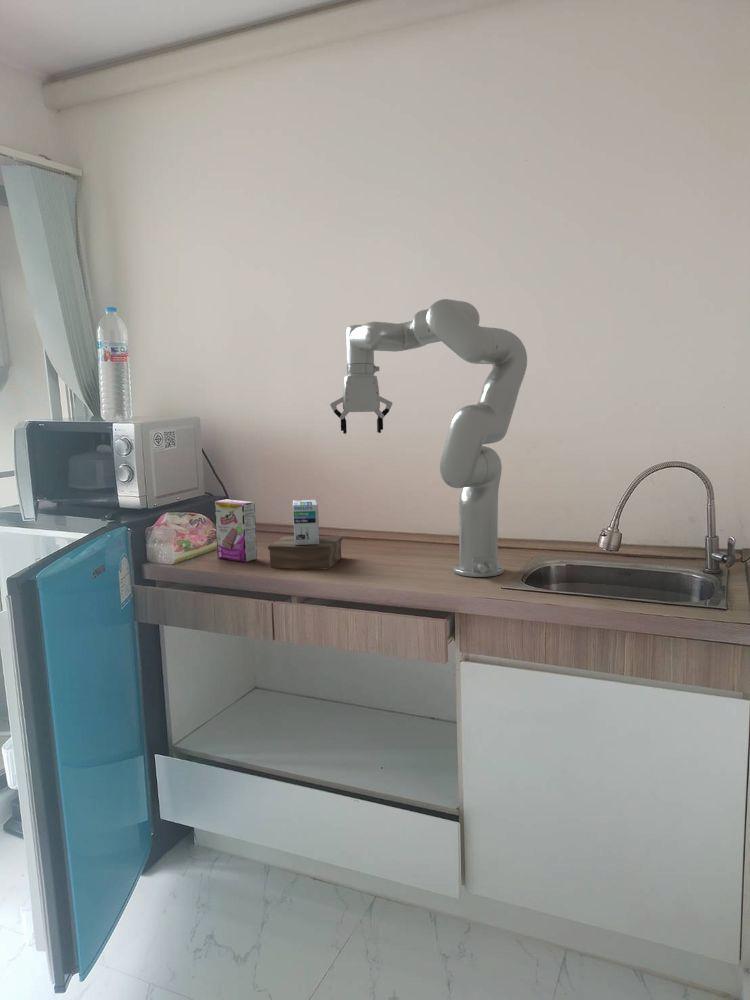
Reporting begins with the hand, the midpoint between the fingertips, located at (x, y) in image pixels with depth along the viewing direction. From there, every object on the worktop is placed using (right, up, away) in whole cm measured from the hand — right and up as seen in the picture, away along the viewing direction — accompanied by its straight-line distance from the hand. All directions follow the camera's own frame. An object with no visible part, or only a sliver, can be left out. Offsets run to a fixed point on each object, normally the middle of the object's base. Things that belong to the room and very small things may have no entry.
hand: (362, 433), depth 204 cm
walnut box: (-15, -36, -5) cm, 40 cm away
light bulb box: (-15, -30, -7) cm, 34 cm away
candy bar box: (-35, -36, +1) cm, 50 cm away
